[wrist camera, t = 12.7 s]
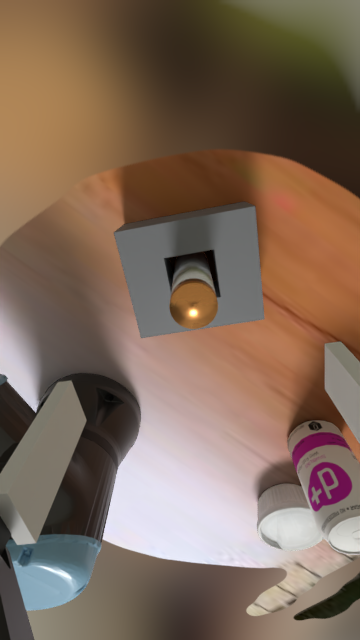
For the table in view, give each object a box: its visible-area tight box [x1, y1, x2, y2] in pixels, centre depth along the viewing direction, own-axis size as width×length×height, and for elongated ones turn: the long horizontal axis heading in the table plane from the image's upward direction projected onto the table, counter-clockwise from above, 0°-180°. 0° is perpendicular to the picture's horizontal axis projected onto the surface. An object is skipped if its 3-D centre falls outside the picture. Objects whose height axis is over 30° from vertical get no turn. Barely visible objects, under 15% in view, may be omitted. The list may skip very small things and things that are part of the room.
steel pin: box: [169, 252, 218, 329], centre depth 33 cm, size 4×4×14 cm
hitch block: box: [114, 202, 264, 338], centre depth 36 cm, size 14×12×6 cm
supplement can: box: [287, 420, 360, 555], centre depth 43 cm, size 8×8×15 cm
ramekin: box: [257, 483, 324, 551], centre depth 54 cm, size 11×11×5 cm
